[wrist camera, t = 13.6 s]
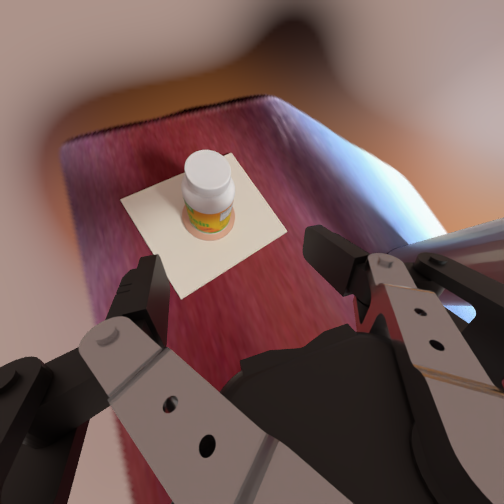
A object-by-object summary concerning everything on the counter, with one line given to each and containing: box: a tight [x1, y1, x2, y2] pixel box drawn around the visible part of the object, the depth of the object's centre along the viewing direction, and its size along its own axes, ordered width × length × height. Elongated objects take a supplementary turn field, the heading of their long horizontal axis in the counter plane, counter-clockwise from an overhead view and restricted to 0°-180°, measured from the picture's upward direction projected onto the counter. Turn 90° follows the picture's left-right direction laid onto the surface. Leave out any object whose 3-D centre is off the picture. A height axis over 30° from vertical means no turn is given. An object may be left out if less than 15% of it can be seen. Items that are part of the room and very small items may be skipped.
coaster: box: [182, 205, 235, 241], centre depth 26 cm, size 7×7×1 cm
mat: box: [120, 153, 287, 299], centre depth 26 cm, size 17×15×1 cm
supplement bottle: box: [181, 150, 235, 234], centre depth 21 cm, size 5×5×10 cm
